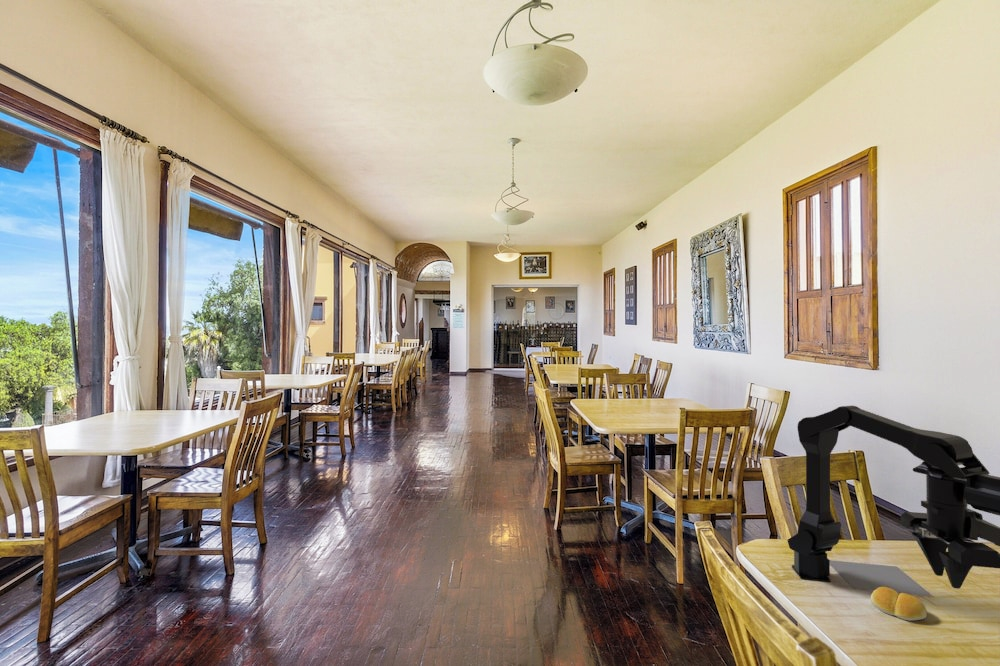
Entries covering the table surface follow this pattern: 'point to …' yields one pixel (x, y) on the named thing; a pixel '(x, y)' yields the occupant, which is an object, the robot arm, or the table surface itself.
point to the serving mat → (877, 577)
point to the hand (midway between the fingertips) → (947, 581)
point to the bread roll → (898, 604)
